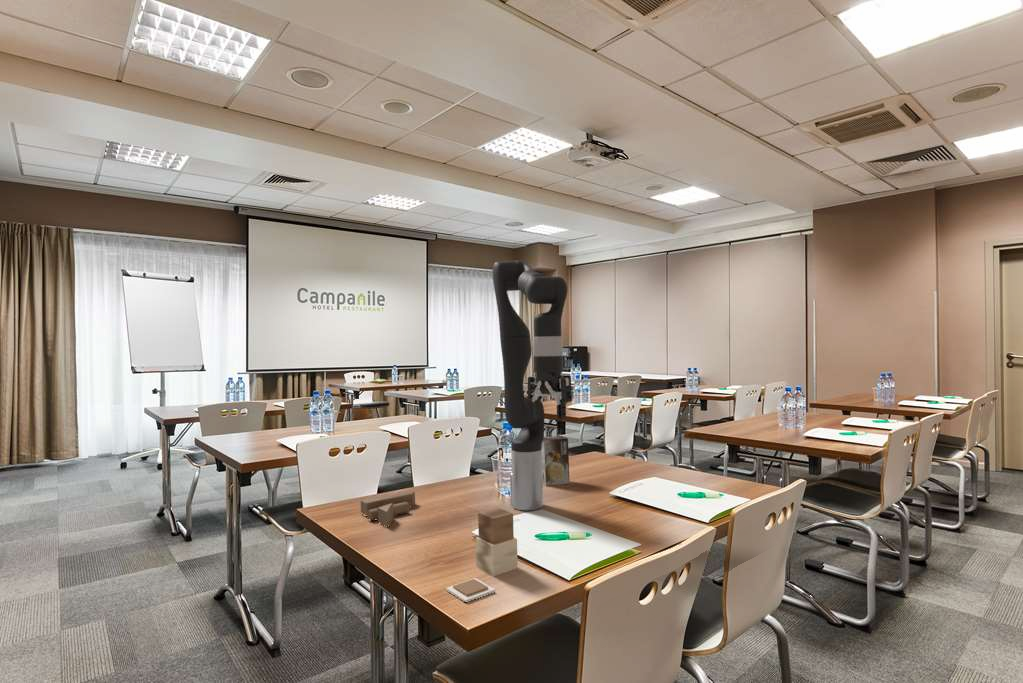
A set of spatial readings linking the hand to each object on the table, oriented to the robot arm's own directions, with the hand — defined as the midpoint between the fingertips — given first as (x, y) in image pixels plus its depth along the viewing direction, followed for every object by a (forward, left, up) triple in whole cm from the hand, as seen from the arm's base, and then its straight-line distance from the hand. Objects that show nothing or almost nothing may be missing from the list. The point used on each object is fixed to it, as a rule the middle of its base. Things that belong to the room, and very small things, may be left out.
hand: (549, 418), depth 137 cm
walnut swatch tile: (+12, -33, -30) cm, 46 cm away
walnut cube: (+6, -22, -24) cm, 33 cm away
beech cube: (+6, -22, -30) cm, 38 cm away
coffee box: (-39, +37, -30) cm, 62 cm away
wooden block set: (-43, -21, -31) cm, 57 cm away
